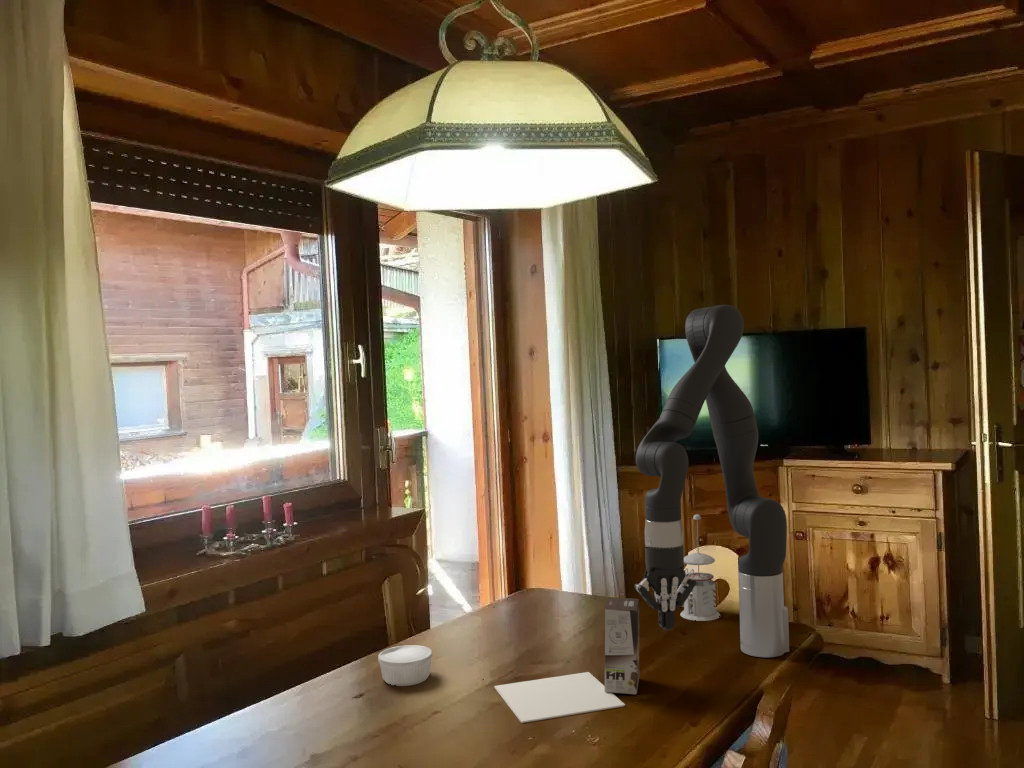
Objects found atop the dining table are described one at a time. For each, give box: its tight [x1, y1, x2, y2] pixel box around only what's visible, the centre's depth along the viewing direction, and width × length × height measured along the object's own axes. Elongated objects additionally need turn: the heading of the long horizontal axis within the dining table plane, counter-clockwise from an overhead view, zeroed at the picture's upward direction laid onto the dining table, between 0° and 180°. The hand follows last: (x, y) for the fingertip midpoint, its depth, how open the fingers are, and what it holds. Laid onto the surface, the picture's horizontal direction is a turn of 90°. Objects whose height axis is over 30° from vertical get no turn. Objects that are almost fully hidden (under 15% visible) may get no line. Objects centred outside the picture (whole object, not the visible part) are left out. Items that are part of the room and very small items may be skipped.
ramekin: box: [377, 644, 433, 687], centre depth 176 cm, size 11×11×5 cm
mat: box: [493, 671, 626, 724], centre depth 164 cm, size 20×18×1 cm
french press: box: [680, 513, 721, 622], centre depth 211 cm, size 10×12×25 cm
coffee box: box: [604, 597, 640, 695], centre depth 167 cm, size 9×6×16 cm
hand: (666, 628), depth 170 cm, fingers closed
